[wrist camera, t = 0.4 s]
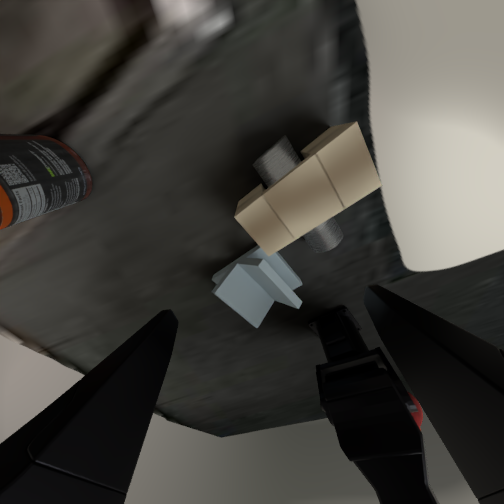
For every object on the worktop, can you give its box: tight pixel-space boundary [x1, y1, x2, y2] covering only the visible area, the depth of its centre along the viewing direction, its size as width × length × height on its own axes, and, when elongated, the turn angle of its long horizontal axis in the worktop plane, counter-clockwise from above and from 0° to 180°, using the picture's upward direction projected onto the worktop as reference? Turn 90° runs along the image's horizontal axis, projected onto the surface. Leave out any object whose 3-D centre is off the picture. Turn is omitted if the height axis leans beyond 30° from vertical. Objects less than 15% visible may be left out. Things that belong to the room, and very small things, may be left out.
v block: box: [211, 245, 303, 328], centre depth 23 cm, size 8×9×4 cm
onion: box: [408, 392, 423, 430], centre depth 37 cm, size 6×6×8 cm
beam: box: [234, 122, 382, 256], centre depth 16 cm, size 5×10×5 cm, turn 128°
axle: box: [252, 135, 343, 253], centre depth 17 cm, size 11×4×4 cm, turn 38°
